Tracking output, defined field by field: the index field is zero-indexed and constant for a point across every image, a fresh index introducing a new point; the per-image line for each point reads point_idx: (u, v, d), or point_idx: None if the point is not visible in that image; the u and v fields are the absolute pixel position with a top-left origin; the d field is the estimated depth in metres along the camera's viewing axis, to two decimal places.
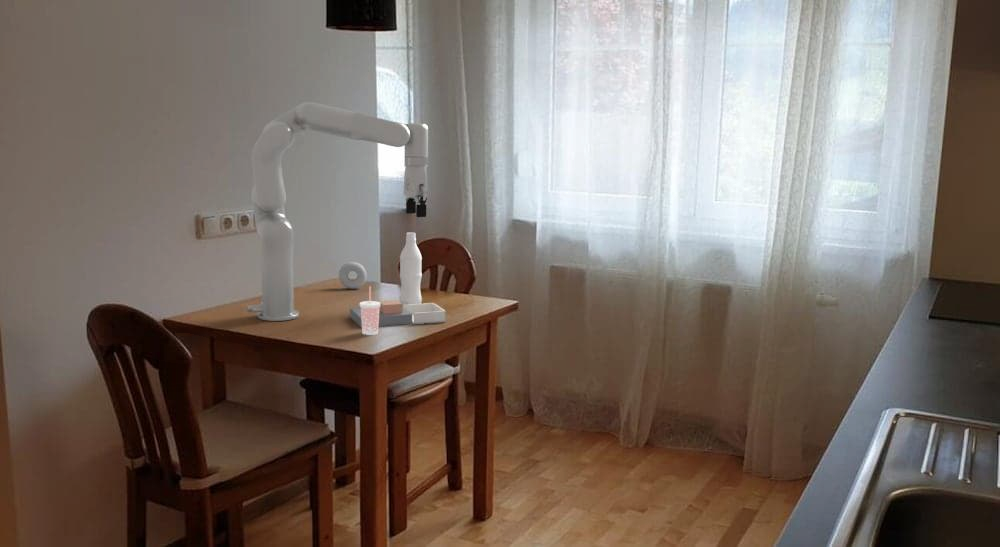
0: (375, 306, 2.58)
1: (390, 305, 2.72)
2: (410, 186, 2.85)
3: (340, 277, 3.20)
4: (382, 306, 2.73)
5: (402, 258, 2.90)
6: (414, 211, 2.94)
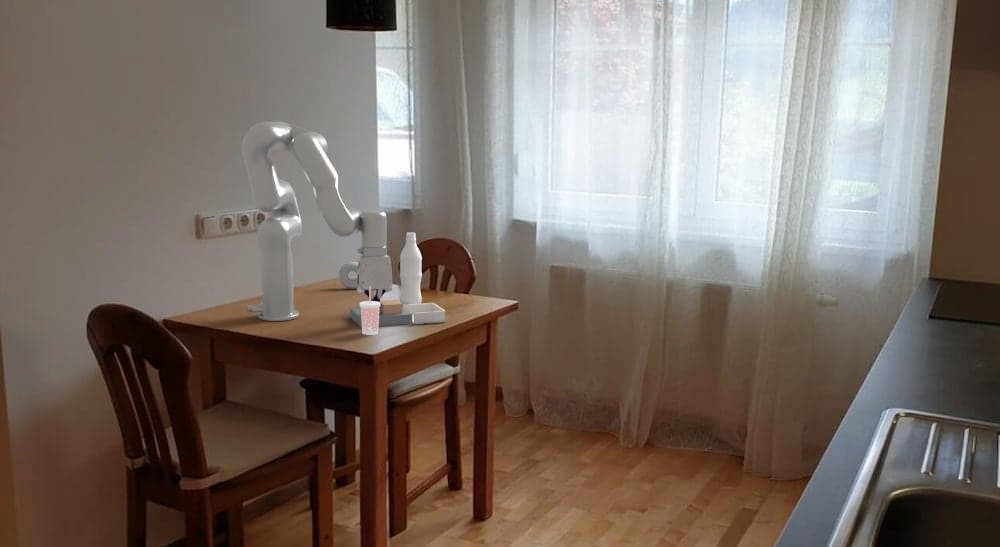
0: (375, 306, 2.58)
1: (390, 305, 2.72)
2: (384, 277, 2.70)
3: (340, 277, 3.20)
4: (382, 306, 2.73)
5: (402, 258, 2.90)
6: None
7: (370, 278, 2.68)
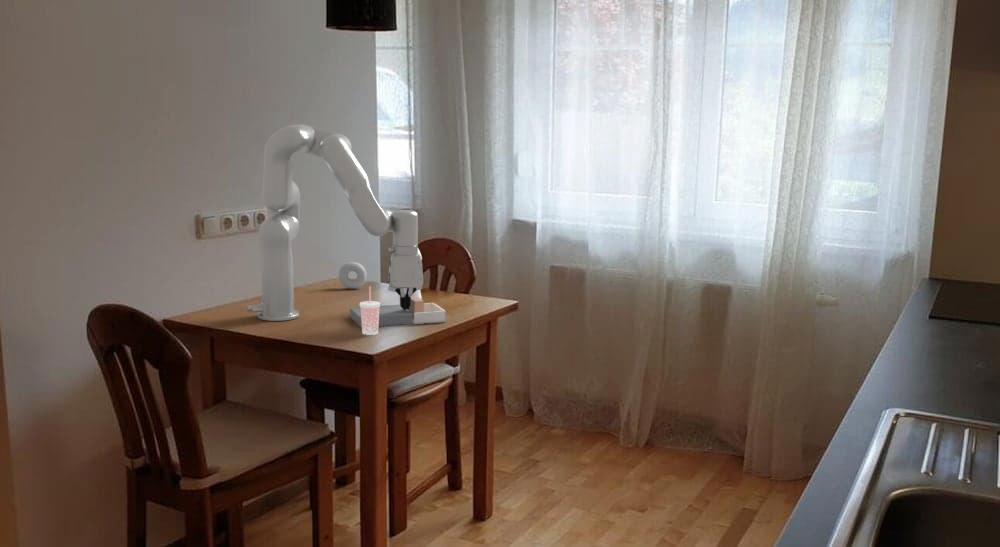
0: (375, 306, 2.58)
1: (422, 307, 2.77)
2: (415, 275, 2.74)
3: (340, 277, 3.20)
4: (420, 300, 2.77)
5: None
6: None
7: (401, 276, 2.72)
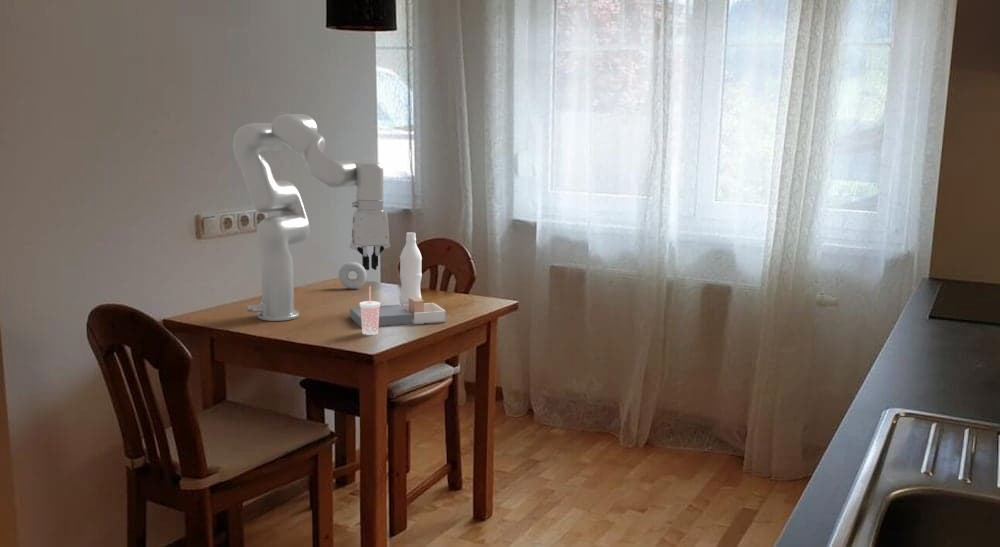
0: (375, 306, 2.58)
1: (422, 307, 2.77)
2: (380, 233, 2.55)
3: (340, 277, 3.20)
4: (420, 300, 2.77)
5: (402, 258, 2.90)
6: None
7: (366, 233, 2.53)
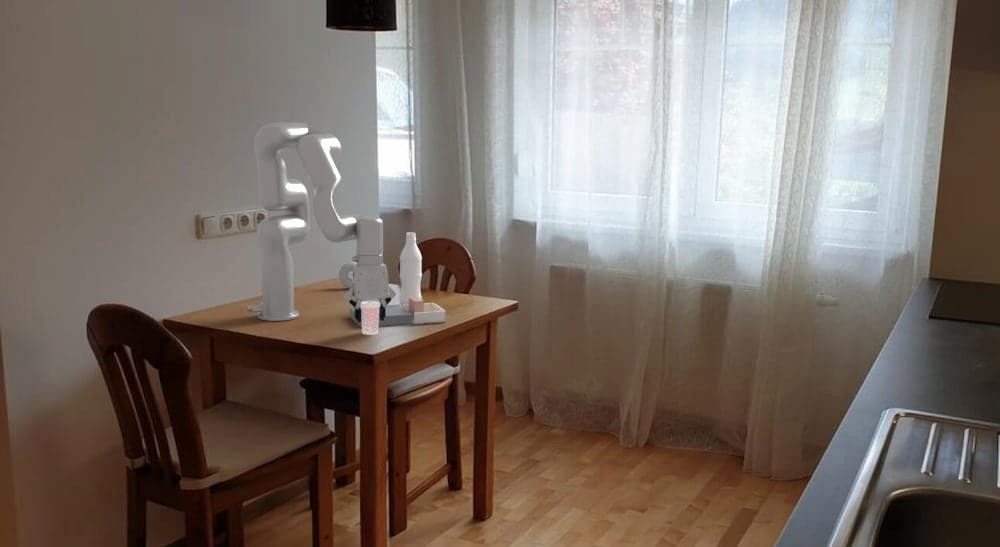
0: (375, 306, 2.58)
1: (422, 307, 2.77)
2: (380, 286, 2.58)
3: (340, 277, 3.20)
4: (420, 300, 2.77)
5: (402, 258, 2.90)
6: None
7: (365, 288, 2.56)
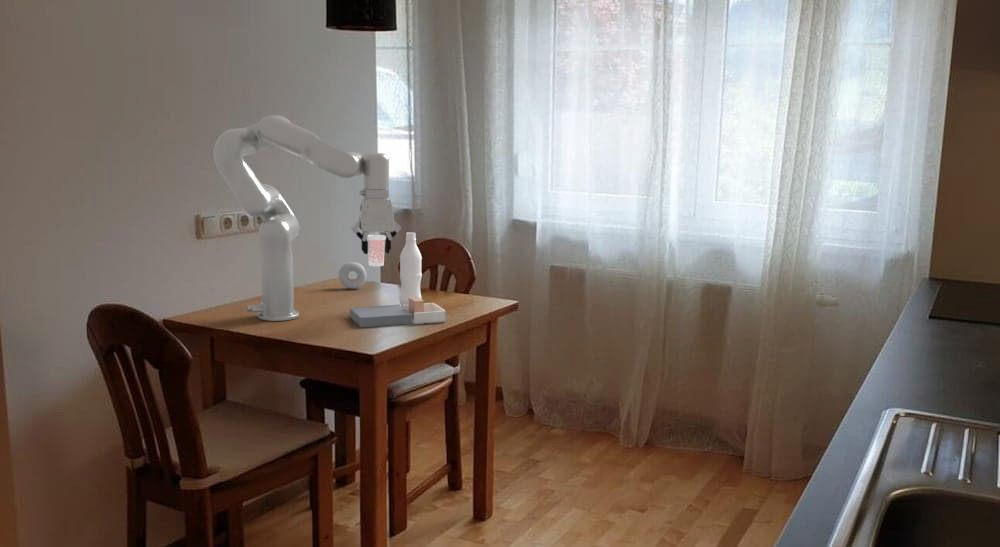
0: (381, 238, 2.71)
1: (422, 307, 2.77)
2: (386, 220, 2.70)
3: (340, 277, 3.20)
4: (420, 300, 2.77)
5: (402, 258, 2.90)
6: None
7: (372, 220, 2.69)
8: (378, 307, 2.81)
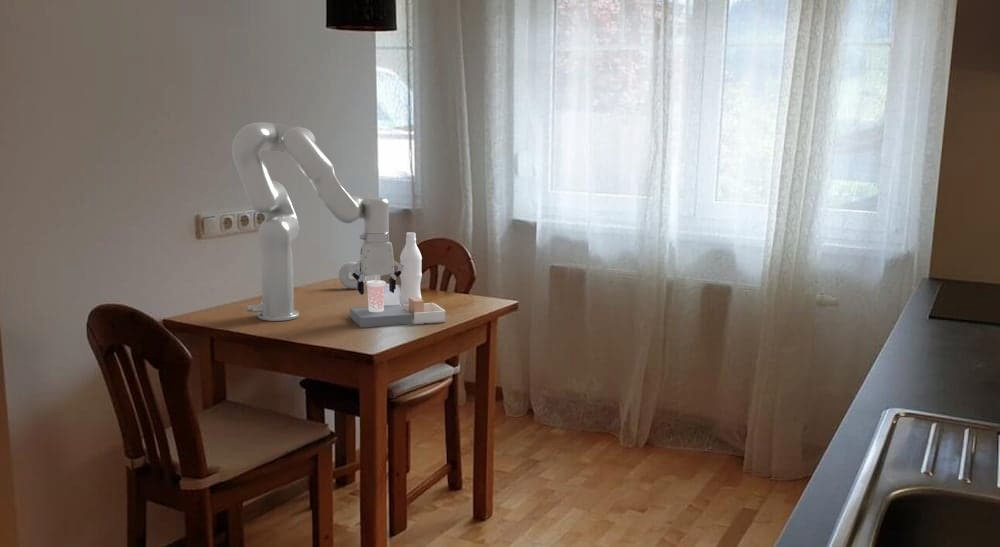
0: (381, 285, 2.73)
1: (422, 307, 2.77)
2: (386, 263, 2.73)
3: (340, 277, 3.20)
4: (420, 300, 2.77)
5: (402, 258, 2.90)
6: None
7: (372, 264, 2.71)
8: None
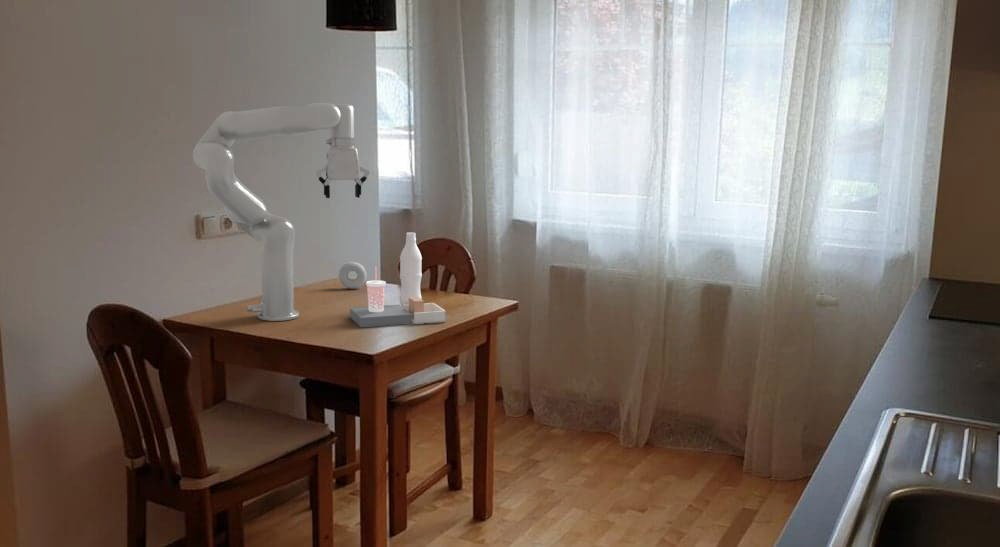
0: (381, 285, 2.73)
1: (422, 307, 2.77)
2: (351, 168, 2.83)
3: (340, 277, 3.20)
4: (420, 300, 2.77)
5: (402, 258, 2.90)
6: None
7: (338, 168, 2.81)
8: None
